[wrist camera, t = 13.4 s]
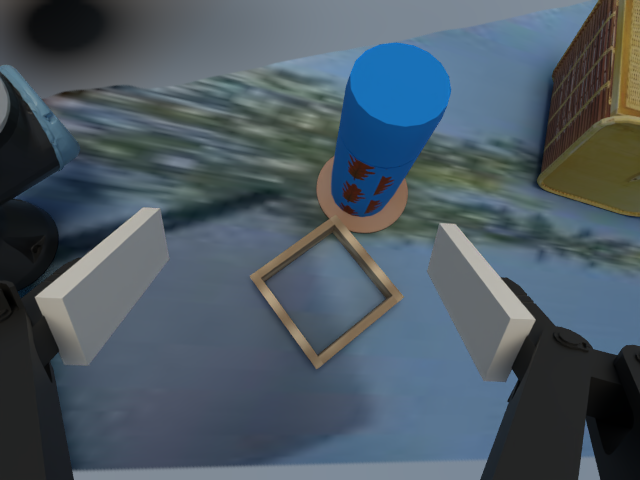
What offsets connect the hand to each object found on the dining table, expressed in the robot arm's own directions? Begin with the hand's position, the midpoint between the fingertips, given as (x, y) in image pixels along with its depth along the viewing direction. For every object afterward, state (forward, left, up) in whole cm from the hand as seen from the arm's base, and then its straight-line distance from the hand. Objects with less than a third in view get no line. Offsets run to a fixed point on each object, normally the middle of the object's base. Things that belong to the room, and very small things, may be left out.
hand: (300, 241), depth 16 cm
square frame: (0, +5, -38) cm, 38 cm away
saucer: (-10, +21, -38) cm, 44 cm away
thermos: (-10, +20, -37) cm, 44 cm away
